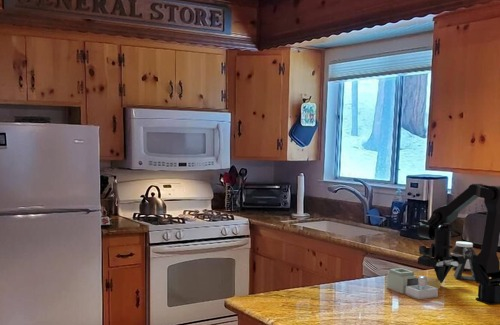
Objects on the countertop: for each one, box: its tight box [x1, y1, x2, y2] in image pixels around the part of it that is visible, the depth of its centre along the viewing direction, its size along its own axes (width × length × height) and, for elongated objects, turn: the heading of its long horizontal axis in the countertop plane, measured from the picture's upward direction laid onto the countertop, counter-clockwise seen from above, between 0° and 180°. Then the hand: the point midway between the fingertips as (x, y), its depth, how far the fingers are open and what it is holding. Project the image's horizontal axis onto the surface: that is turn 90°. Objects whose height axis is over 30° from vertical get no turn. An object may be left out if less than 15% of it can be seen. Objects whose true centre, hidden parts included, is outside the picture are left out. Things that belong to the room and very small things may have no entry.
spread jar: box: [450, 240, 477, 272], centre depth 222 cm, size 12×11×12 cm
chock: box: [427, 277, 441, 289], centre depth 188 cm, size 5×6×3 cm
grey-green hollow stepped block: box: [386, 267, 418, 294], centre depth 183 cm, size 8×9×7 cm
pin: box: [417, 275, 428, 290], centre depth 175 cm, size 3×3×6 cm
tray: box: [405, 285, 439, 300], centre depth 175 cm, size 6×9×3 cm, turn 116°
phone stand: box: [453, 248, 476, 282], centre depth 203 cm, size 9×6×12 cm, turn 75°
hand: (440, 282), depth 191 cm, fingers closed
